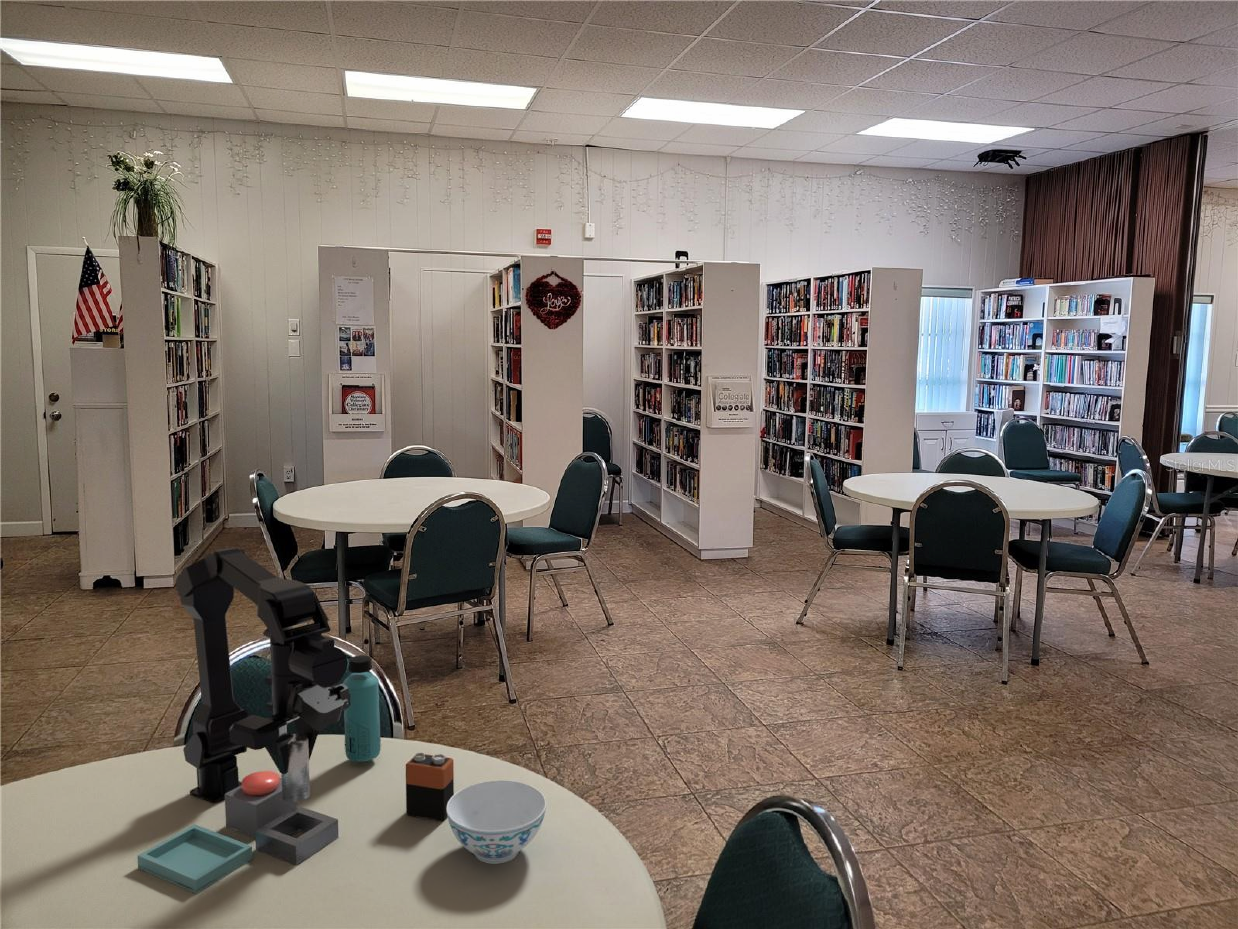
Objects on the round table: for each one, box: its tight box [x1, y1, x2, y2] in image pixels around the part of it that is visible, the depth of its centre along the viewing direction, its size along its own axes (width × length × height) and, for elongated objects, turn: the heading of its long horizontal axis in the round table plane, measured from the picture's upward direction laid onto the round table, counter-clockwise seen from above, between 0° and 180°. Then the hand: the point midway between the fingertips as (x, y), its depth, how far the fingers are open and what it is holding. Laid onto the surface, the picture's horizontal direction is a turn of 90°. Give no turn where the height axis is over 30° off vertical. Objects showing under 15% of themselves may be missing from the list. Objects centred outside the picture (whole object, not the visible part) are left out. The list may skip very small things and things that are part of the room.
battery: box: [405, 752, 455, 822], centre depth 147 cm, size 4×7×10 cm, turn 75°
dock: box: [224, 776, 298, 838], centre depth 144 cm, size 7×8×6 cm
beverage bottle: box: [342, 654, 382, 763], centre depth 163 cm, size 6×7×20 cm
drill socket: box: [254, 805, 339, 866], centre depth 138 cm, size 8×8×3 cm
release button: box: [240, 770, 280, 797], centre depth 144 cm, size 6×6×4 cm
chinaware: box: [446, 779, 547, 865], centre depth 136 cm, size 15×15×8 cm
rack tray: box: [136, 824, 253, 894], centre depth 132 cm, size 13×10×2 cm
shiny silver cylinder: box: [280, 733, 311, 802], centre depth 136 cm, size 4×4×9 cm
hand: (294, 767), depth 136 cm, fingers closed on shiny silver cylinder, 4 cm apart
